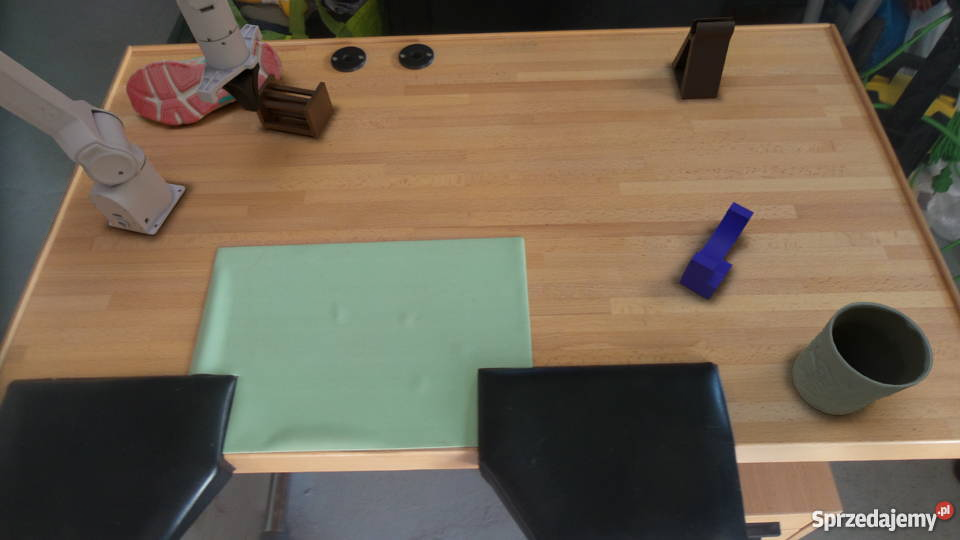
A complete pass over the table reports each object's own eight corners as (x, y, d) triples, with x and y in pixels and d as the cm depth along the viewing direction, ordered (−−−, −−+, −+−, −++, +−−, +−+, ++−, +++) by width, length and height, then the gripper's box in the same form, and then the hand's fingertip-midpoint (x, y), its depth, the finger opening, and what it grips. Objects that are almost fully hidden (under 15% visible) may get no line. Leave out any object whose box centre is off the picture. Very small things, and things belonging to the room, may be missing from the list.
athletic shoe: (297, 76, 105) (259, 12, 101) (290, 77, 97) (249, 7, 92) (170, 143, 105) (127, 82, 101) (153, 150, 97) (104, 84, 92)
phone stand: (671, 65, 103) (690, 3, 93) (704, 64, 103) (727, 2, 93) (681, 99, 98) (702, 38, 88) (716, 98, 98) (741, 37, 88)
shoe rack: (317, 138, 95) (307, 110, 90) (263, 128, 97) (250, 101, 92) (333, 109, 99) (324, 82, 94) (281, 101, 100) (269, 73, 95)
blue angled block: (708, 300, 77) (723, 277, 72) (678, 282, 79) (691, 258, 74) (748, 243, 82) (764, 217, 77) (719, 227, 83) (733, 201, 78)
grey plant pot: (885, 386, 70) (951, 345, 60) (841, 440, 67) (903, 407, 57) (811, 330, 74) (861, 284, 64) (766, 379, 71) (811, 338, 61)
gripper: (215, 68, 70) (255, 146, 82) (266, -1, 78) (296, 80, 89) (165, 60, 71) (211, 138, 83) (220, -7, 79) (255, 74, 90)
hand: (252, 108), depth 86 cm, fingers closed
